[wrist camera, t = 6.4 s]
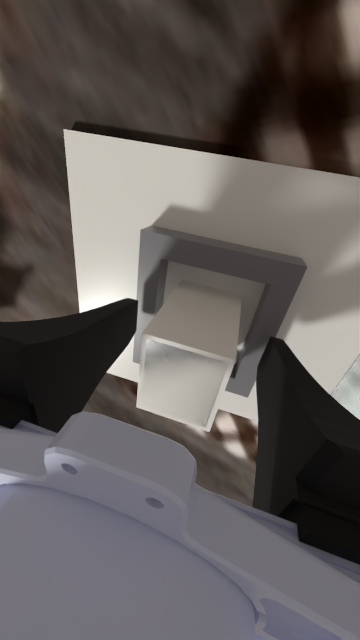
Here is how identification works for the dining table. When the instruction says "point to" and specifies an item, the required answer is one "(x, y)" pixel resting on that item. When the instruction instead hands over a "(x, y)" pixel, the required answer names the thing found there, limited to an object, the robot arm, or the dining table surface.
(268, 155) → the dining table surface
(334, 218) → the socket plate
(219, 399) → the light grey box
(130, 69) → the dining table surface
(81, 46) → the dining table surface
